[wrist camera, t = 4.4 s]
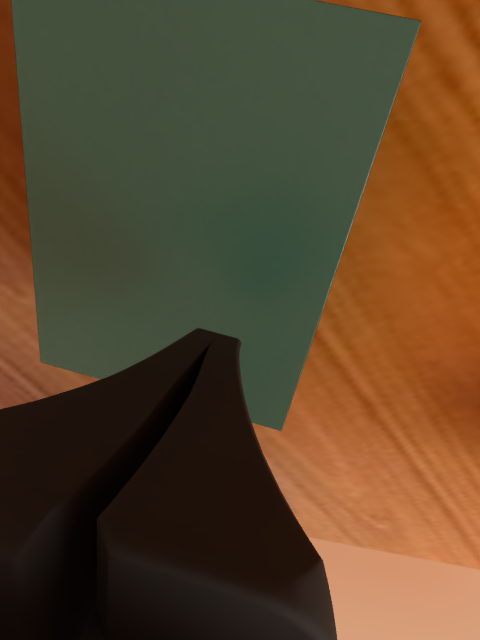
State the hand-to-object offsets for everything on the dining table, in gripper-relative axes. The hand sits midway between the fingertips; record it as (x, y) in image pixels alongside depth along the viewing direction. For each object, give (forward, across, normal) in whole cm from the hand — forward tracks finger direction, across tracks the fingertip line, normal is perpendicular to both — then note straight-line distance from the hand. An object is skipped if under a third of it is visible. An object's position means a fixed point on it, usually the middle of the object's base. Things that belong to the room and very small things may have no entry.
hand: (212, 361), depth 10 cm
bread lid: (+4, +3, -2) cm, 6 cm away
